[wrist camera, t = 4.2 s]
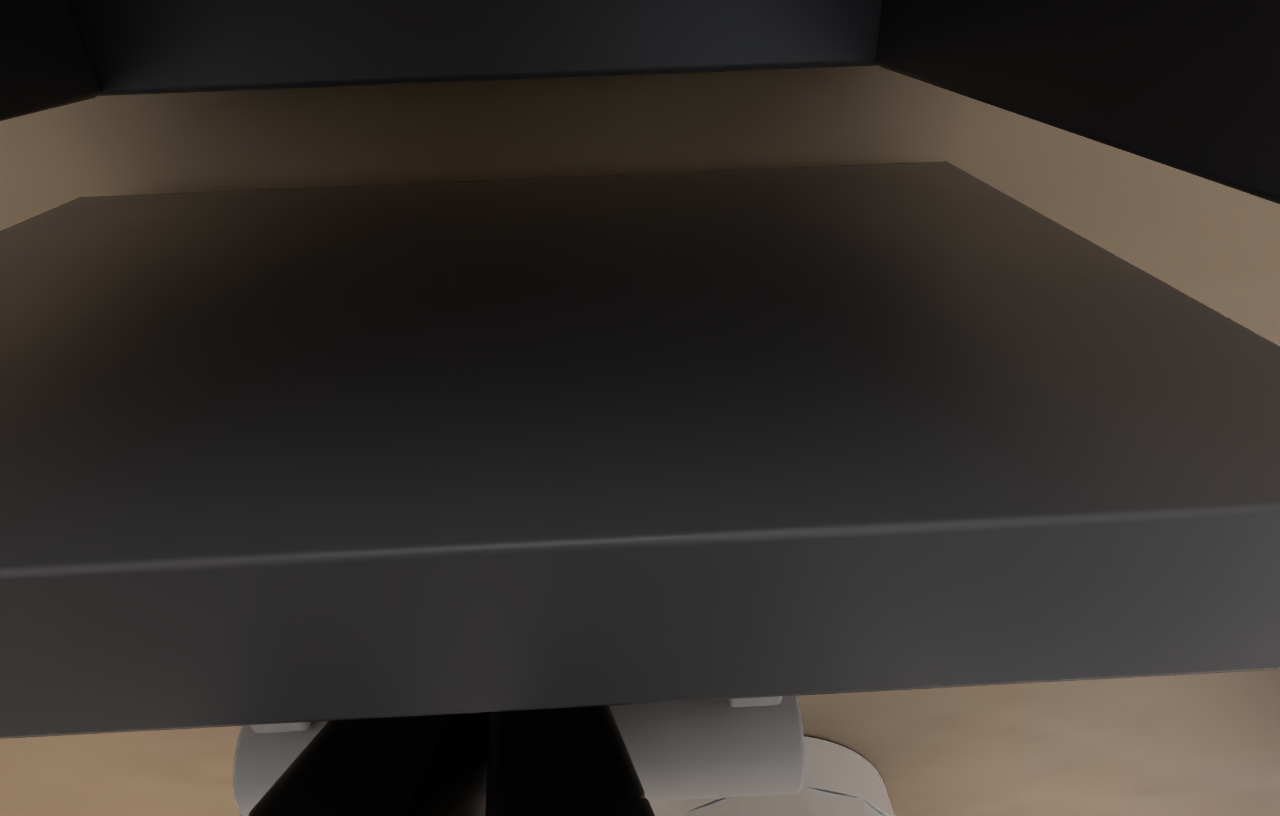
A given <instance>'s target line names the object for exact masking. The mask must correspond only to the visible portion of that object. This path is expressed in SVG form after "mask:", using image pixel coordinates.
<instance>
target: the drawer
mask: <svg viewBox="0 0 1280 816" xmlns="http://www.w3.org/2000/svg"><path fill="white" fill-rule="evenodd" d="M877 65H878V66H880V67H883V68H886V69H889V70H891V71H894V72H897V73H900V74H903V75H906V76H909V77H912V78H915V79H918V80H921V81H923V82H926V83H929V84H932V85H935V86H938V87H941V88H944V89H947V90H950V91H953V92H955V93H958V94H961V95H964V96H967V97H970V98H973V99H976V100H979V101H982V102H984V103H987V104H990V105H993V106H996V107H999V108H1002V109H1005V110H1008V111H1011V112H1014V113H1016V114H1019V115H1022V116H1025V117H1028V118H1031V119H1034V120H1037V121H1040V122H1043V123H1046V124H1048V125H1051V126H1054V127H1057V128H1060V129H1063V130H1066V131H1069V132H1072V133H1075V134H1078V135H1080V136H1083V137H1086V138H1089V139H1092V140H1095V141H1098V142H1101V143H1104V144H1107V145H1110V146H1112V147H1115V148H1118V149H1121V150H1124V151H1127V152H1130V153H1133V154H1136V155H1139V156H1141V157H1144V158H1147V159H1150V160H1153V161H1156V162H1159V163H1162V164H1165V165H1168V166H1171V167H1173V168H1176V169H1179V170H1182V171H1185V172H1188V173H1191V174H1194V175H1197V176H1200V177H1203V178H1205V179H1208V180H1211V181H1214V182H1217V183H1220V184H1223V185H1226V186H1229V187H1232V188H1235V189H1237V190H1240V191H1243V192H1246V193H1249V194H1252V195H1255V196H1258V197H1261V198H1264V199H1267V200H1269V201H1272V202H1275V203H1278V204H1280V0H0V121H2V120H6V119H10V118H14V117H18V116H22V115H27V114H31V113H35V112H39V111H43V110H47V109H51V108H55V107H59V106H63V105H67V104H71V103H75V102H80V101H84V100H88V99H92V98H95V97H97V96H108V95H133V94H159V93H185V92H210V91H236V90H262V89H287V88H313V87H338V86H364V85H390V84H415V83H441V82H467V81H492V80H518V79H544V78H569V77H595V76H621V75H646V74H672V73H697V72H723V71H749V70H774V69H800V68H826V67H851V66H877ZM1278 669H1280V347H1279V346H1277V345H1276V344H1274V343H1272V342H1270V341H1268V340H1267V339H1265V338H1263V337H1261V336H1260V335H1258V334H1256V333H1254V332H1252V331H1251V330H1249V329H1247V328H1245V327H1243V326H1242V325H1240V324H1238V323H1236V322H1234V321H1233V320H1231V319H1229V318H1227V317H1225V316H1224V315H1222V314H1220V313H1218V312H1216V311H1215V310H1213V309H1211V308H1209V307H1207V306H1206V305H1204V304H1202V303H1200V302H1198V301H1197V300H1195V299H1193V298H1191V297H1189V296H1188V295H1186V294H1184V293H1182V292H1180V291H1179V290H1177V289H1175V288H1173V287H1171V286H1170V285H1168V284H1166V283H1164V282H1162V281H1161V280H1159V279H1157V278H1155V277H1153V276H1152V275H1150V274H1148V273H1146V272H1144V271H1143V270H1141V269H1139V268H1137V267H1135V266H1134V265H1132V264H1130V263H1128V262H1126V261H1125V260H1123V259H1121V258H1119V257H1117V256H1116V255H1114V254H1112V253H1110V252H1108V251H1107V250H1105V249H1103V248H1101V247H1099V246H1098V245H1096V244H1094V243H1092V242H1090V241H1089V240H1087V239H1085V238H1083V237H1081V236H1080V235H1078V234H1076V233H1074V232H1072V231H1071V230H1069V229H1067V228H1065V227H1063V226H1062V225H1060V224H1058V223H1056V222H1054V221H1053V220H1051V219H1049V218H1047V217H1045V216H1044V215H1042V214H1040V213H1038V212H1036V211H1035V210H1033V209H1031V208H1029V207H1027V206H1026V205H1024V204H1022V203H1020V202H1018V201H1017V200H1015V199H1013V198H1011V197H1009V196H1008V195H1006V194H1004V193H1002V192H1000V191H999V190H997V189H995V188H993V187H991V186H990V185H988V184H986V183H984V182H982V181H981V180H979V179H977V178H975V177H973V176H972V175H970V174H968V173H966V172H964V171H963V170H961V169H959V168H957V167H955V166H954V165H952V164H950V163H948V162H946V161H945V162H921V163H897V164H873V165H849V166H825V167H801V168H776V169H752V170H728V171H704V172H680V173H656V174H631V175H607V176H583V177H559V178H535V179H511V180H486V181H462V182H438V183H414V184H390V185H366V186H342V187H317V188H293V189H269V190H245V191H221V192H197V193H172V194H148V195H124V196H100V197H80V198H77V199H75V200H73V201H70V202H68V203H66V204H63V205H61V206H58V207H56V208H54V209H51V210H49V211H47V212H44V213H42V214H40V215H37V216H35V217H33V218H30V219H28V220H26V221H23V222H21V223H19V224H16V225H14V226H12V227H9V228H7V229H5V230H2V231H0V739H4V738H23V737H41V736H59V735H78V734H96V733H115V732H133V731H152V730H170V729H189V728H207V727H226V726H242V728H241V731H240V734H239V737H238V741H237V746H236V751H235V757H234V766H233V789H234V797H235V802H236V805H237V808H238V810H239V813H240V814H241V816H249V812H250V811H251V810H252V809H253V807H254V806H255V805H256V804H257V803H258V802H259V801H260V799H261V798H262V797H263V796H264V795H265V794H266V792H267V791H268V790H269V789H270V788H271V787H272V786H273V784H274V783H275V782H276V781H277V780H278V779H279V777H280V776H281V775H282V774H283V773H284V772H285V771H286V769H287V768H288V767H289V766H290V765H291V764H292V762H293V761H294V760H295V759H296V758H297V757H298V756H299V754H300V753H301V752H302V751H303V750H304V749H305V747H306V746H307V745H308V744H309V743H310V742H311V741H312V739H313V738H314V737H315V736H316V735H317V734H318V732H319V731H320V730H321V729H322V728H323V727H324V725H325V724H326V723H327V722H328V721H336V720H355V719H373V718H392V717H410V716H429V715H447V714H466V713H484V712H502V711H521V710H539V709H558V708H576V707H595V706H610V709H611V711H612V714H613V716H614V719H615V721H616V723H617V726H618V728H619V731H620V733H621V736H622V738H623V740H624V743H625V745H626V748H627V750H628V753H629V755H630V758H631V760H632V762H633V765H634V767H635V770H636V772H637V775H638V777H639V779H640V782H641V784H642V787H643V789H644V792H645V798H646V799H648V800H649V802H658V801H676V800H693V799H711V798H729V797H746V796H764V795H782V794H796V793H798V792H800V791H801V789H802V786H803V782H804V775H805V745H804V733H803V724H802V717H801V711H800V705H799V700H798V695H816V694H835V693H853V692H872V691H890V690H909V689H927V688H945V687H964V686H982V685H1001V684H1019V683H1038V682H1056V681H1075V680H1093V679H1112V678H1130V677H1149V676H1167V675H1185V674H1204V673H1222V672H1241V671H1259V670H1278Z"/></svg>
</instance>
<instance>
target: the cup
mask: <svg viewBox="0 0 1280 816" xmlns="http://www.w3.org/2000/svg"><path fill="white" fill-rule="evenodd" d="M804 745H805V775H804V782H803V786H802V789H801V791H800V792H798V793H796V794H782V795H764V796H746V797H729V798H711V799H693V800H676V801H658V802H649V803H650V805H651V808H652V810H653V812H654V815H655V816H895V814H894V811H893V808H892V805H891V802H890V800H889V797H888V794H887V791H886V788H885V785H884V782H883V780H882V778H881V776H880V774H879V773H878V771H877V770H876V769H875V768H874V767H873V765H872V764H871V763H869V762H868V761H867V760H866V759H865V758H863V757H862V756H860V755H859V754H857V753H856V752H854V751H852V750H850V749H848V748H846V747H843V746H841V745H838V744H836V743H832V742H829V741H826V740H822V739H817V738H811V737H804Z"/></svg>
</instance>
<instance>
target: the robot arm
mask: <svg viewBox="0 0 1280 816" xmlns="http://www.w3.org/2000/svg"><path fill="white" fill-rule="evenodd" d="M249 816H655V815H654V812H653V810H652V808H651V805H650V803H649V800H648V799H646V798H645V792H644V789H643V787H642V784H641V782H640V779H639V777H638V775H637V772H636V770H635V767H634V765H633V762H632V760H631V758H630V755H629V753H628V750H627V748H626V745H625V743H624V740H623V738H622V736H621V733H620V731H619V728H618V726H617V723H616V721H615V719H614V716H613V714H612V711H611V709H610V706H595V707H576V708H558V709H539V710H521V711H502V712H484V713H466V714H447V715H429V716H410V717H392V718H373V719H355V720H336V721H328V722H327V723H326V724H325V725H324V727H323V728H322V729H321V730H320V731H319V732H318V734H317V735H316V736H315V737H314V738H313V739H312V741H311V742H310V743H309V744H308V745H307V746H306V747H305V749H304V750H303V751H302V752H301V753H300V754H299V756H298V757H297V758H296V759H295V760H294V761H293V762H292V764H291V765H290V766H289V767H288V768H287V769H286V771H285V772H284V773H283V774H282V775H281V776H280V777H279V779H278V780H277V781H276V782H275V783H274V784H273V786H272V787H271V788H270V789H269V790H268V791H267V792H266V794H265V795H264V796H263V797H262V798H261V799H260V801H259V802H258V803H257V804H256V805H255V806H254V807H253V809H252V810H251V811H250V812H249Z"/></svg>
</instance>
